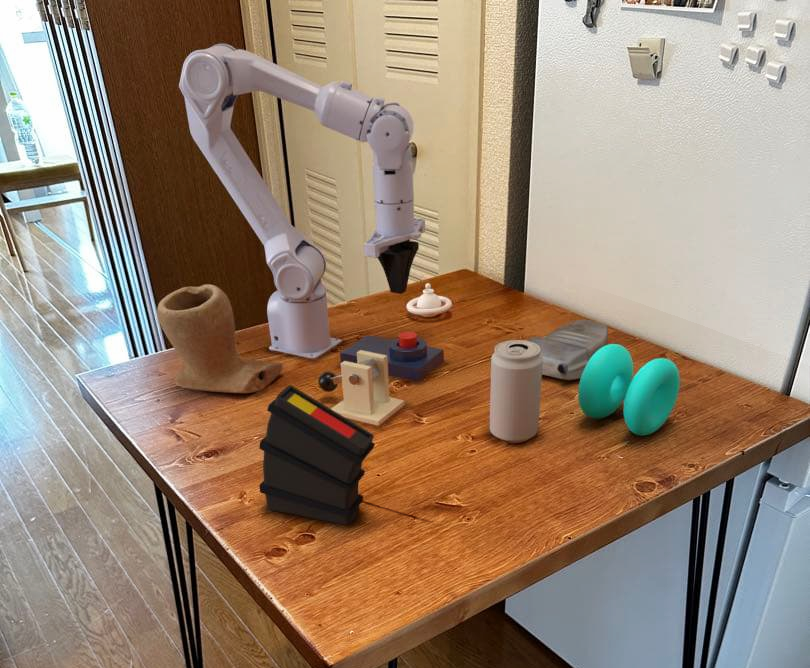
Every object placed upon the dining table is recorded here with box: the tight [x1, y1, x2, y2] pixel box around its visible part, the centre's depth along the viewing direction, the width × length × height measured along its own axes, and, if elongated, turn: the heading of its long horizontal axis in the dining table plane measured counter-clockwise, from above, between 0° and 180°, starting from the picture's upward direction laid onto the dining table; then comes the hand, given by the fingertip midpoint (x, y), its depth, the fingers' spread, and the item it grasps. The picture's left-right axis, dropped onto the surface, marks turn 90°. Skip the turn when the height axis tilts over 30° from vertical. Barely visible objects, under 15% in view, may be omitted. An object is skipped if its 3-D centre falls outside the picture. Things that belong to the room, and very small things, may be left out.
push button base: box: [339, 334, 445, 382], centre depth 124 cm, size 14×8×4 cm, turn 60°
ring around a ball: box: [406, 282, 453, 318], centre depth 140 cm, size 8×6×8 cm
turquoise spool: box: [577, 343, 681, 436], centre depth 104 cm, size 10×10×10 cm
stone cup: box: [156, 283, 284, 394], centre depth 117 cm, size 15×12×15 cm
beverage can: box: [489, 339, 543, 444], centre depth 103 cm, size 6×6×12 cm
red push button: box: [397, 331, 418, 348], centre depth 122 cm, size 3×3×2 cm
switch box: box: [330, 350, 405, 427], centre depth 111 cm, size 8×7×8 cm
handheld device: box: [527, 319, 609, 381], centre depth 123 cm, size 10×20×5 cm, turn 146°
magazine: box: [258, 385, 376, 526], centre depth 90 cm, size 4×13×15 cm, turn 69°
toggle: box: [318, 359, 380, 393], centre depth 112 cm, size 10×3×3 cm, turn 60°
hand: (398, 291), depth 125 cm, fingers closed
